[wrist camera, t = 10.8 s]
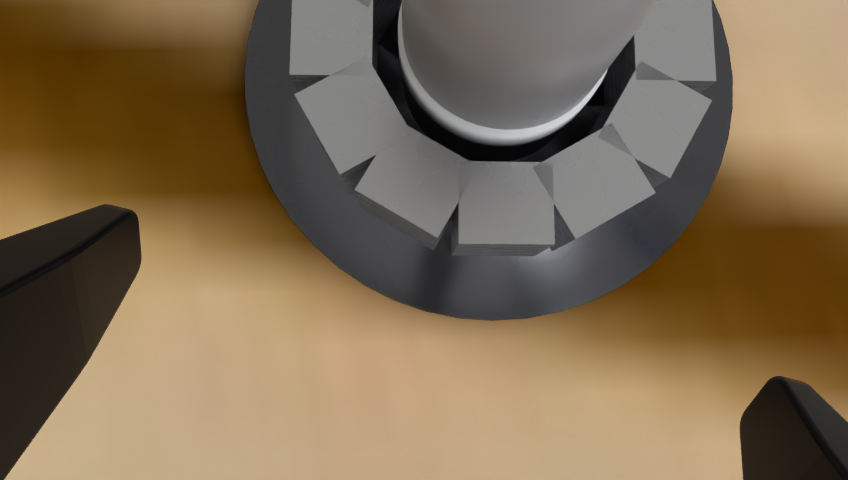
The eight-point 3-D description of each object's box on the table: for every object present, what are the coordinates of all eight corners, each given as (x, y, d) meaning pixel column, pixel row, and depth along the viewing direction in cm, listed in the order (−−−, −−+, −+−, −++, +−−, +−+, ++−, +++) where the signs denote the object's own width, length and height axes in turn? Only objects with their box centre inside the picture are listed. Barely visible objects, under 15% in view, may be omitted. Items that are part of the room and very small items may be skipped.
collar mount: (813, 169, 19) (892, 138, 16) (398, 414, 18) (396, 432, 14) (566, -206, 20) (594, -301, 17) (166, -6, 19) (120, -71, 16)
